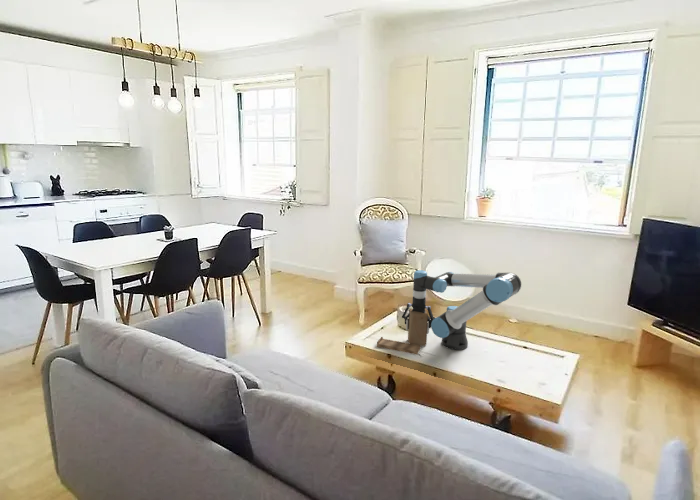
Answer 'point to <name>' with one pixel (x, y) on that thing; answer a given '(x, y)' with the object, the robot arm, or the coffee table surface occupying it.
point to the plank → (398, 346)
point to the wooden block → (417, 328)
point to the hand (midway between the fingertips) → (417, 331)
